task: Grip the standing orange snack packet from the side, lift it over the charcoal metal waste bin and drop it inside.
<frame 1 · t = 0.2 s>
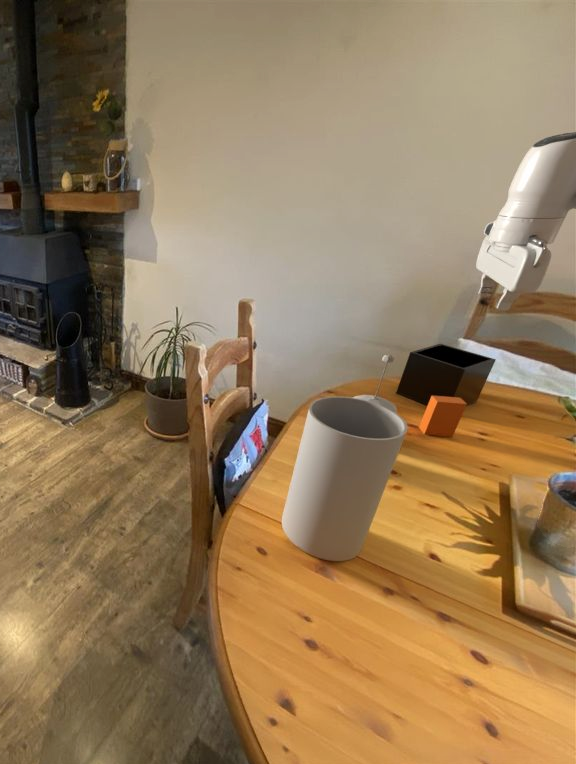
hand: (492, 302, 85), 32 cm above the table, tool pointing down, fingers open, 8 cm apart
packet: (435, 432, 99), on the table
french press: (354, 460, 92), on the table
bin: (434, 398, 113), on the table
cylinder vase: (319, 535, 75), on the table
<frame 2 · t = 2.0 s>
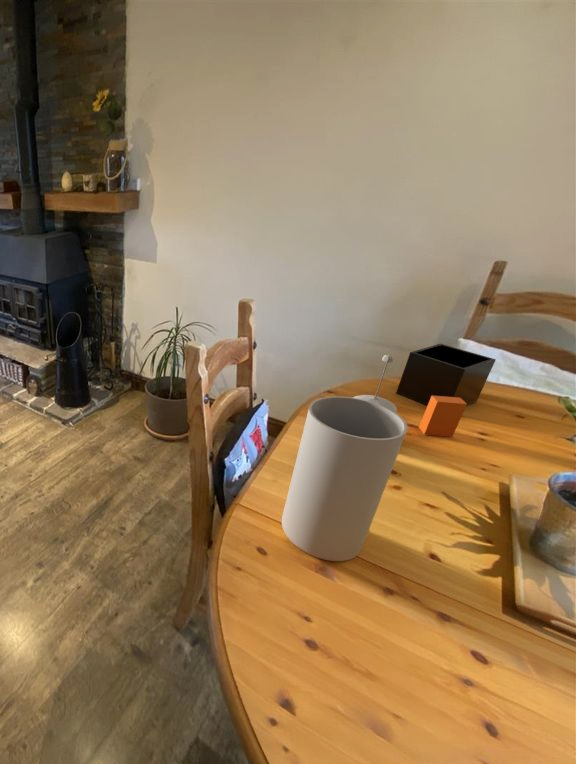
nothing on the table moved.
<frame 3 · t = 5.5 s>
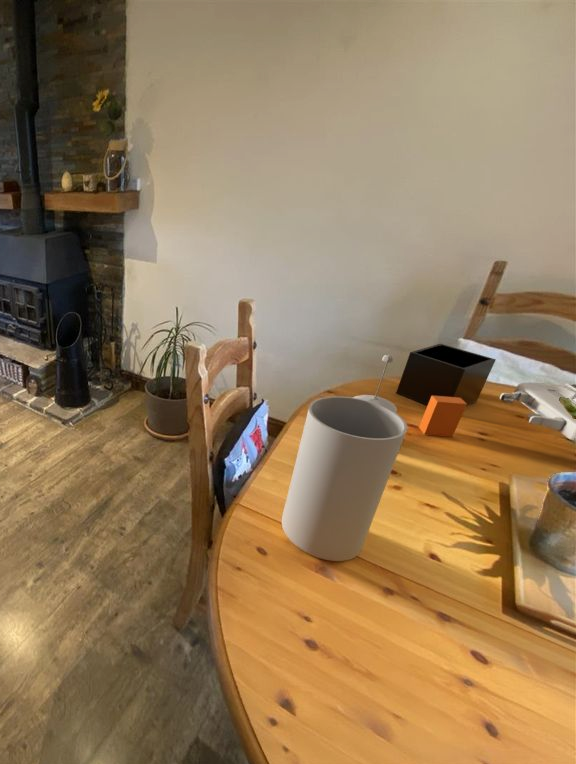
hand: (514, 407, 92), 8 cm above the table, tool horizontal, fingers open, 8 cm apart
nothing on the table moved.
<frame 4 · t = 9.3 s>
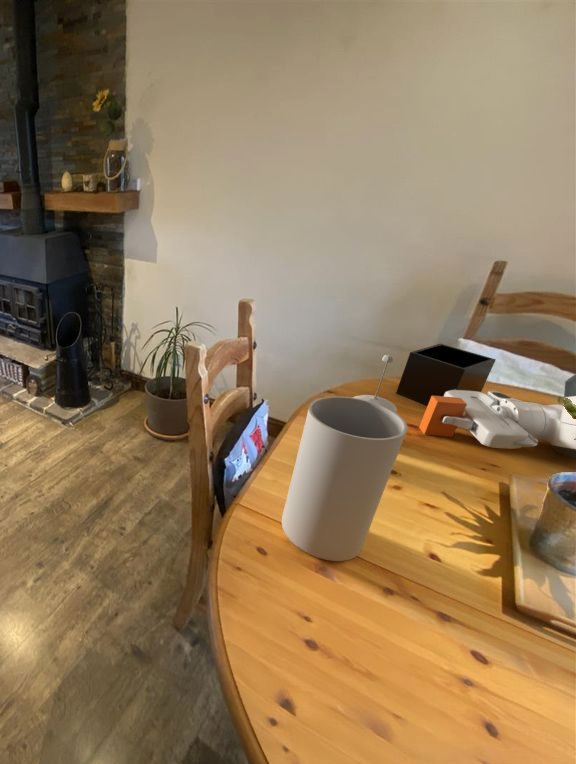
hand: (438, 413, 97), 5 cm above the table, tool horizontal, fingers closed on packet, 3 cm apart
packet: (435, 432, 99), on the table, touching gripper
everything else where it was.
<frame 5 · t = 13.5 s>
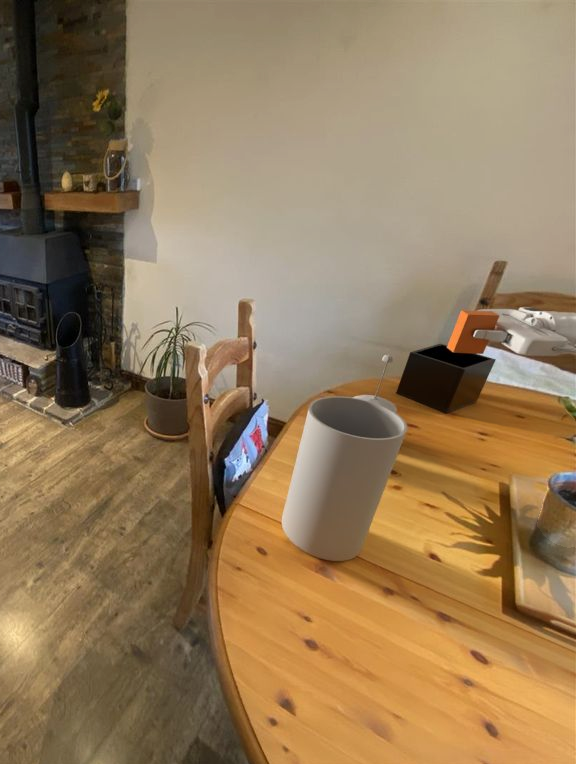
hand: (468, 329, 93), 24 cm above the table, tool horizontal, fingers closed on packet, 3 cm apart
packet: (464, 350, 95), point 19 cm above the table, touching gripper
everything else where it was.
when the fingers open (14 cm above the table, at t = 18.1 s): packet drops 8 cm, resting on bin.
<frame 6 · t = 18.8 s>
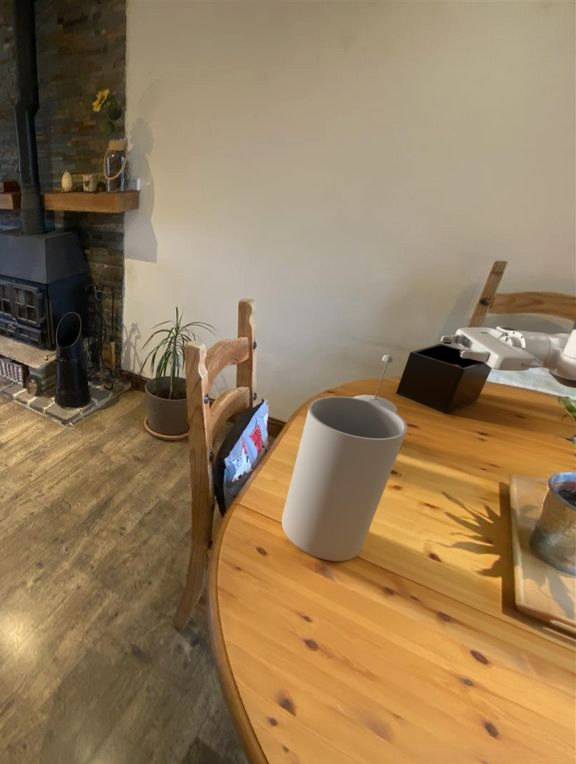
hand: (451, 346, 106), 15 cm above the table, tool horizontal, fingers open, 8 cm apart
packet: (436, 396, 112), point 1 cm above the table, touching bin
everything else where it was.
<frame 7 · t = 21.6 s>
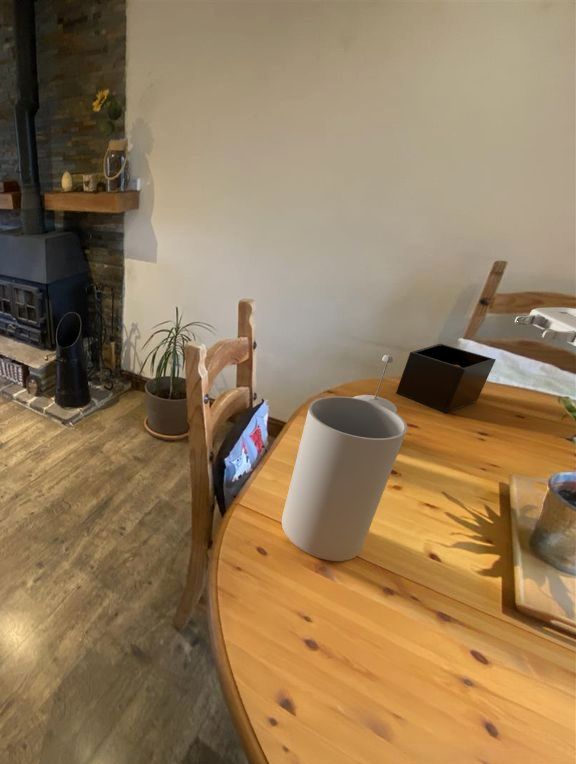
hand: (529, 326, 99), 21 cm above the table, tool horizontal, fingers open, 8 cm apart
nothing on the table moved.
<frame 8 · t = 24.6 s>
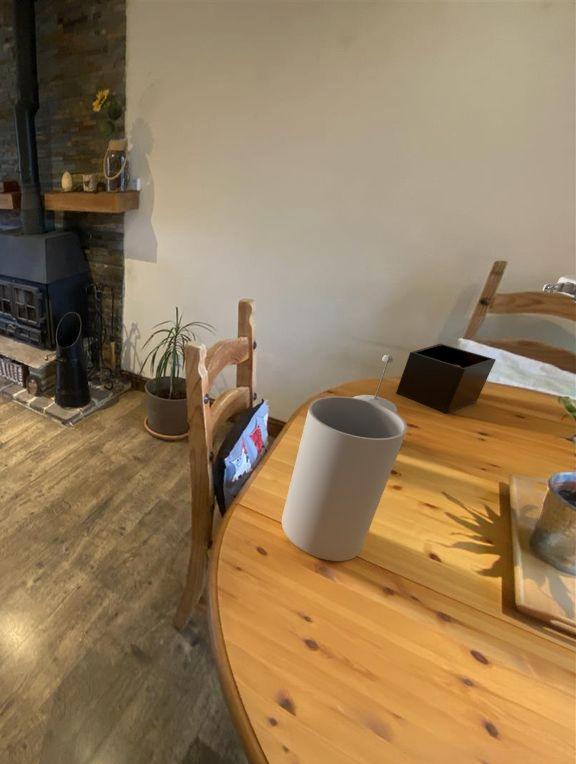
hand: (560, 293, 94), 30 cm above the table, tool horizontal, fingers open, 8 cm apart
nothing on the table moved.
at the end: packet inside the target area in the bin (0.2 cm from its centre), point 0.6 cm above the bin's base; the gripper is holding nothing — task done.
